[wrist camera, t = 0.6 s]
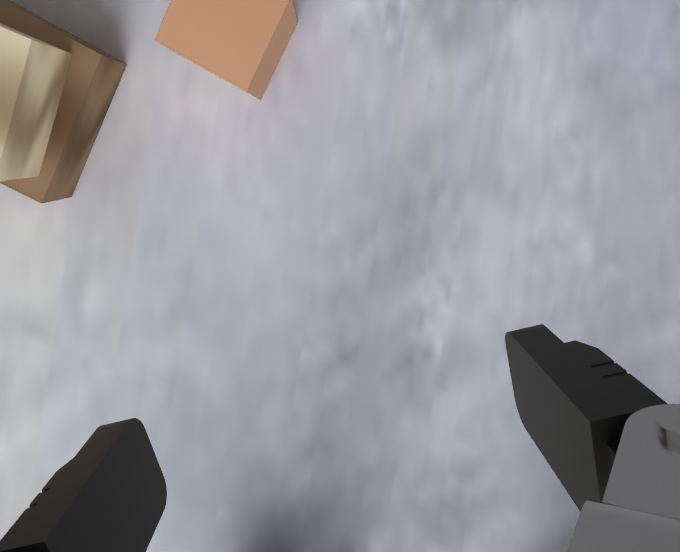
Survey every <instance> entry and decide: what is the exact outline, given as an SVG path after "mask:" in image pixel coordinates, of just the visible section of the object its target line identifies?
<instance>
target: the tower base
mask: <svg viewBox="0 0 680 552" xmlns="http://www.w3.org/2000/svg"><path fill="white" fill-rule="evenodd" d="M0 23H2V24H4V25H7V26H9V27H11V28H14V29H16V30H18V31H21V32H23V33H25V34H28V35H30V36H32V37H35V38H37V39H39V40H42V41H44V42H46V43H49V44H51V45H53V46H56V47H58V48H60V49H63V50H65V51H67V52H70V53H72V58H71V61H70V65H69V69H68V72H67V76H66V79H65V83H64V87H63V90H62V94H61V98H60V101H59V105H58V108H57V112H56V116H55V119H54V123H53V126H52V130H51V134H50V137H49V141H48V145H47V148H46V152H45V155H44V159H43V163H42V166H41V170H40V174H39V176H38V177H30V178H22V179H14V180H6V181H0V183H1V184H3V185H5V186H7V187H9V188H11V189H13V190H15V191H17V192H20V193H22V194H24V195H26V196H28V197H30V198H32V199H34V200H36V201H38V202H40V203H46V202H50V201H55V200H59V199H64V198H68V197H72V195H73V192H74V190H75V187H76V185H77V183H78V180H79V178H80V175H81V173H82V171H83V168H84V166H85V163H86V161H87V159H88V156H89V154H90V151H91V149H92V147H93V144H94V142H95V139H96V137H97V135H98V132H99V130H100V127H101V125H102V123H103V120H104V118H105V115H106V113H107V111H108V108H109V106H110V103H111V101H112V99H113V96H114V94H115V91H116V89H117V87H118V84H119V82H120V79H121V77H122V75H123V72H124V70H125V67H126V64H124V63H122V62H120V61H119V60H117V59H115V58H113V57H111V56H110V55H108V54H106V53H104V52H102V51H100V50H99V49H97V48H95V47H93V46H91V45H90V44H88V43H86V42H84V41H82V40H80V39H79V38H77V37H75V36H73V35H71V34H69V33H68V32H66V31H64V30H62V29H60V28H59V27H57V26H55V25H53V24H51V23H49V22H48V21H46V20H44V19H42V18H40V17H39V16H37V15H35V14H33V13H31V12H29V11H28V10H26V9H24V8H22V7H20V6H19V5H17V4H15V3H13V2H11V1H9V0H0Z"/></svg>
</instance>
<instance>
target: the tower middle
mask: <svg viewBox="0 0 680 552" xmlns="http://www.w3.org/2000/svg"><path fill="white" fill-rule="evenodd" d="M71 58H72V53H70V52H67V51H65V50H63V49H60V48H58V47H56V46H53V45H51V44H49V43H46V42H44V41H42V40H39V39H37V38H35V37H32V36H30V35H28V34H25V33H23V32H21V31H18V30H16V29H14V28H11V27H9V26H7V25H4V24H2V23H0V181H6V180H14V179H22V178H30V177H38V176H39V174H40V170H41V166H42V163H43V159H44V155H45V152H46V148H47V145H48V141H49V137H50V134H51V130H52V126H53V123H54V119H55V116H56V112H57V108H58V105H59V101H60V98H61V94H62V90H63V87H64V83H65V79H66V76H67V72H68V69H69V65H70V61H71Z"/></svg>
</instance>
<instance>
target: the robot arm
mask: <svg viewBox="0 0 680 552" xmlns="http://www.w3.org/2000/svg"><path fill="white" fill-rule="evenodd" d="M505 343H506V349H507V355H508V361H509V367H510V373H511V379H512V384H513V390H514V396H515V401H516V405H517V409H518V412H519V415H520V418H521V420H522V423H523V425H524V427H525V429H526V430H527V432H528V433H529V435H530V436H531V438H532V439H533V441H534V442H535V444H536V445H537V447H538V448H539V450H540V451H541V453H542V454H543V456H544V457H545V459H546V460H547V462H548V463H549V465H550V466H551V468H552V469H553V471H554V472H555V474H556V475H557V477H558V478H559V480H560V481H561V483H562V485H563V486H564V488H565V489H566V491H567V492H568V494H569V495H570V497H571V498H572V500H573V501H574V503H575V504H576V506H577V507H578V509H579V510H580V512H581V513H580V516H579V519H578V522H577V525H576V528H575V531H574V534H573V537H572V540H571V543H570V546H569V549H568V552H680V404H667V403H666V402H665V401H663V400H662V399H661V398H660V397H658V396H657V395H656V394H655V393H653V392H652V391H651V390H650V389H648V388H647V387H646V386H645V385H643V384H642V383H641V382H640V381H638V380H637V379H636V378H635V377H633V376H632V375H631V374H627V372H626V370H625V369H623V368H622V367H621V366H620V365H618V364H617V363H614V361H613V360H612V359H611V358H610V357H608V356H607V355H606V354H605V353H603V352H602V351H601V350H600V349H598V348H595V347H592V346H589V345H587V344H584V343H581V342H578V341H571V342H567V343H564V342H562V341H561V340H560V339H559V338H558V337H557V336H556V335H555V334H553V333H552V332H551V331H550V330H549V329H548V328H547V327H546V326H544V325H542V324H541V325H536V326H532V327H528V328H523V329H519V330H515V331H510V332H507V333H506V335H505ZM166 499H167V490H166V483H165V479H164V476H163V473H162V471H161V468H160V466H159V463H158V461H157V458H156V456H155V453H154V450H153V448H152V445H151V443H150V440H149V438H148V435H147V433H146V430H145V428H144V426H143V424H142V423H141V421H140V420H138V419H136V418H132V419H128V420H124V421H120V422H115V423H111V424H107V425H102V426H100V427H98V428H97V429H96V431H95V432H94V433H93V434H92V436H91V437H90V438H89V439H88V441H87V442H86V443H85V445H84V446H83V447H82V448H81V450H80V451H79V452H78V453H77V455H76V456H75V457H74V458H73V459H72V460H70V461H69V462H68V463H67V464H65V465H64V466H63V467H62V468H60V469H59V470H58V471H57V472H56V473H55V474H54V475H53V477H52V478H51V479H50V480H49V482H48V483H47V484H46V485H45V486H44V488H43V489H42V493H39V494H38V495H37V496H36V498H35V499H34V500H33V501H32V502H31V504H30V508H28V509H26V510H25V511H24V512H23V514H22V515H21V516H20V517H19V518H18V520H17V521H16V522H15V523H14V525H13V526H12V527H11V528H10V530H9V531H8V532H7V533H6V534H5V536H4V537H3V538H2V539H1V541H0V552H146V550H147V547H148V545H149V543H150V541H151V538H152V536H153V534H154V532H155V529H156V527H157V525H158V523H159V520H160V518H161V516H162V514H163V511H164V509H165V505H166Z"/></svg>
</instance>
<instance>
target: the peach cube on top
mask: <svg viewBox="0 0 680 552" xmlns="http://www.w3.org/2000/svg"><path fill="white" fill-rule="evenodd" d="M297 23H298V22H297V18H296V14H295V9H294V5H293V1H292V0H171V2H170V4H169V7H168V9H167V11H166V14H165V16H164V18H163V21H162V23H161V26H160V28H159V30H158V33H157V35H156V38H155V41H157V42H159V43H160V44H162V45H164V46H166V47H167V48H169V49H171V50H172V51H174V52H176V53H177V54H179V55H181V56H182V57H184V58H186V59H188V60H189V61H191V62H193V63H195V64H197V65H198V66H200V67H202V68H204V69H206V70H207V71H209V72H211V73H213V74H215V75H216V76H218V77H220V78H222V79H224V80H225V81H227V82H229V83H231V84H233V85H234V86H236V87H238V88H240V89H242V90H243V91H245V92H247V93H249V94H251V95H252V96H254V97H256V98H258V99H260V100H261V98H262V96H263V94H264V92H265V90H266V88H267V86H268V83H269V81H270V79H271V77H272V75H273V73H274V71H275V69H276V67H277V65H278V62H279V60H280V58H281V56H282V54H283V52H284V50H285V48H286V46H287V44H288V41H289V39H290V37H291V35H292V33H293V31H294V29H295V27H296V25H297Z"/></svg>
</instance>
